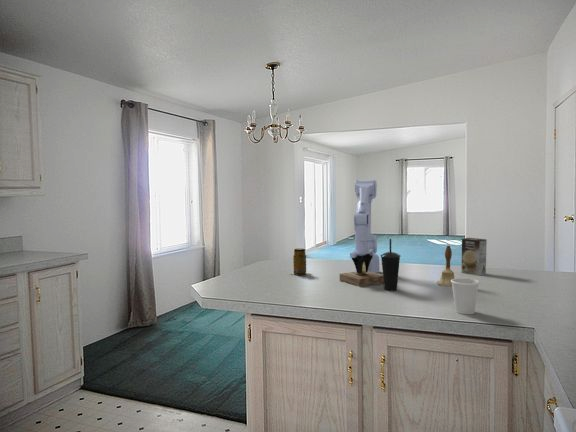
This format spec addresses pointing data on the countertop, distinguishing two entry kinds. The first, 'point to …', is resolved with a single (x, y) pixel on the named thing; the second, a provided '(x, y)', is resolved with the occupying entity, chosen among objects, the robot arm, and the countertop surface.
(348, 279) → the socket block
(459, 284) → the dixie cup
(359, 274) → the pin
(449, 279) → the hand bell
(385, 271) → the drinking cup
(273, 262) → the countertop surface
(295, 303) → the countertop surface
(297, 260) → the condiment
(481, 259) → the coffee box
